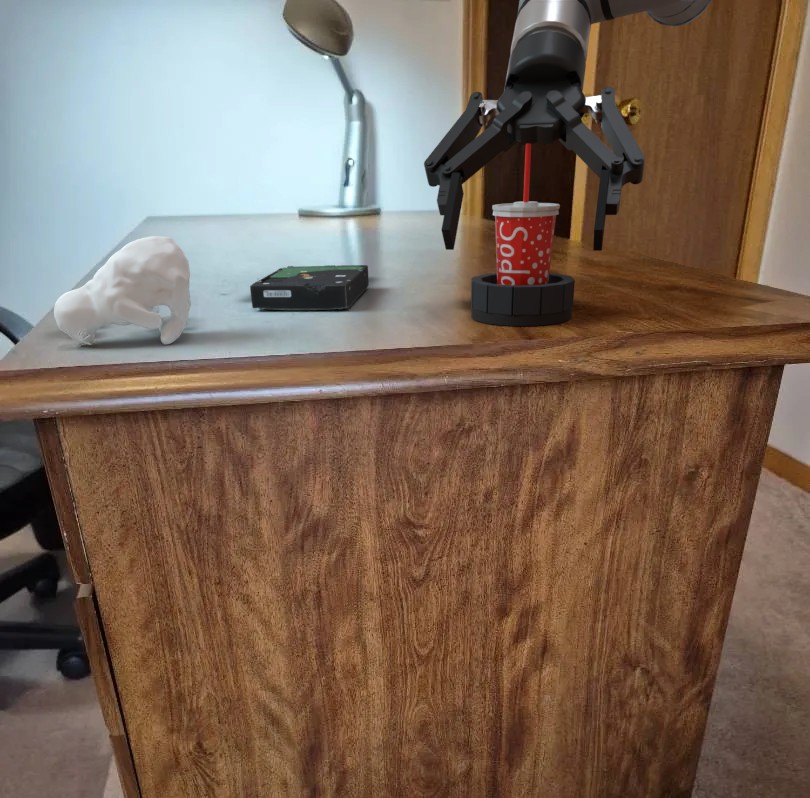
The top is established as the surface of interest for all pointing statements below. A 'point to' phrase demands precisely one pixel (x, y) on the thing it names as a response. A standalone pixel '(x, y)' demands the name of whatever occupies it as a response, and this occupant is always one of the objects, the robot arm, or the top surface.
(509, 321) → the segmented ring
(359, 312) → the top surface
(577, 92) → the robot arm
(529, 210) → the beverage cup
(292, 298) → the disk drive
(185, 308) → the white lumpy figure
